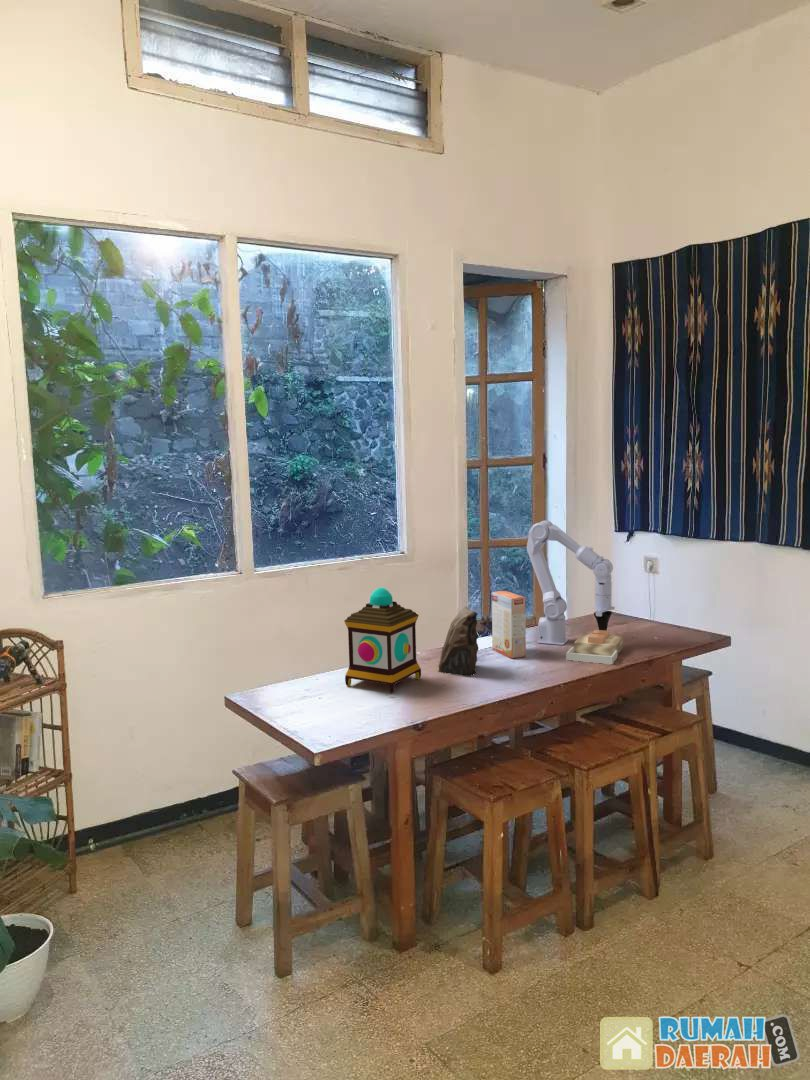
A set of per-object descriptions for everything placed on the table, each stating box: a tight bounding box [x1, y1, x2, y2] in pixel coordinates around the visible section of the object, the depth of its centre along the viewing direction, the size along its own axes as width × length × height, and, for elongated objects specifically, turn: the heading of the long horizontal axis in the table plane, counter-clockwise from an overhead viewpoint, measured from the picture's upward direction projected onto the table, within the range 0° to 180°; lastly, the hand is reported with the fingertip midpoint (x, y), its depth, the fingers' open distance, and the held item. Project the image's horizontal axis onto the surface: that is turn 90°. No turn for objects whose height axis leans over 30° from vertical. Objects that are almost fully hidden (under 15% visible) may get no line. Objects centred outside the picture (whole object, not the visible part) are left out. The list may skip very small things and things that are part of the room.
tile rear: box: [591, 629, 610, 640], centre depth 287 cm, size 5×5×2 cm
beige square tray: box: [573, 632, 624, 656], centre depth 285 cm, size 14×14×4 cm
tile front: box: [588, 634, 606, 644], centre depth 281 cm, size 5×5×2 cm
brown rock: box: [437, 605, 479, 677], centre depth 264 cm, size 13×13×20 cm
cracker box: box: [491, 590, 527, 659], centre depth 283 cm, size 14×6×21 cm, turn 22°
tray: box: [565, 646, 618, 665], centre depth 274 cm, size 15×9×2 cm, turn 65°
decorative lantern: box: [344, 587, 422, 694], centre depth 253 cm, size 20×20×30 cm
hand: (602, 632), depth 290 cm, fingers closed
